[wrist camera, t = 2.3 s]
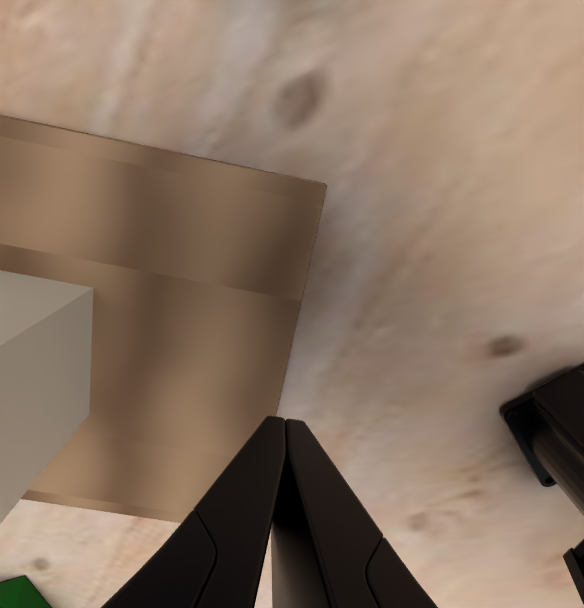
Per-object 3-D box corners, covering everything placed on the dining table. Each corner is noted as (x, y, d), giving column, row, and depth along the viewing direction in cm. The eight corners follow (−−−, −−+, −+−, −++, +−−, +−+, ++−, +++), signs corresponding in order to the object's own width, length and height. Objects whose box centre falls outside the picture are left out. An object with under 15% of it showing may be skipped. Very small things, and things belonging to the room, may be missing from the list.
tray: (323, 183, 18) (331, 188, 15) (252, 505, 25) (246, 565, 21) (-298, 51, 17) (-469, 19, 13) (-198, 435, 23) (-292, 487, 20)
